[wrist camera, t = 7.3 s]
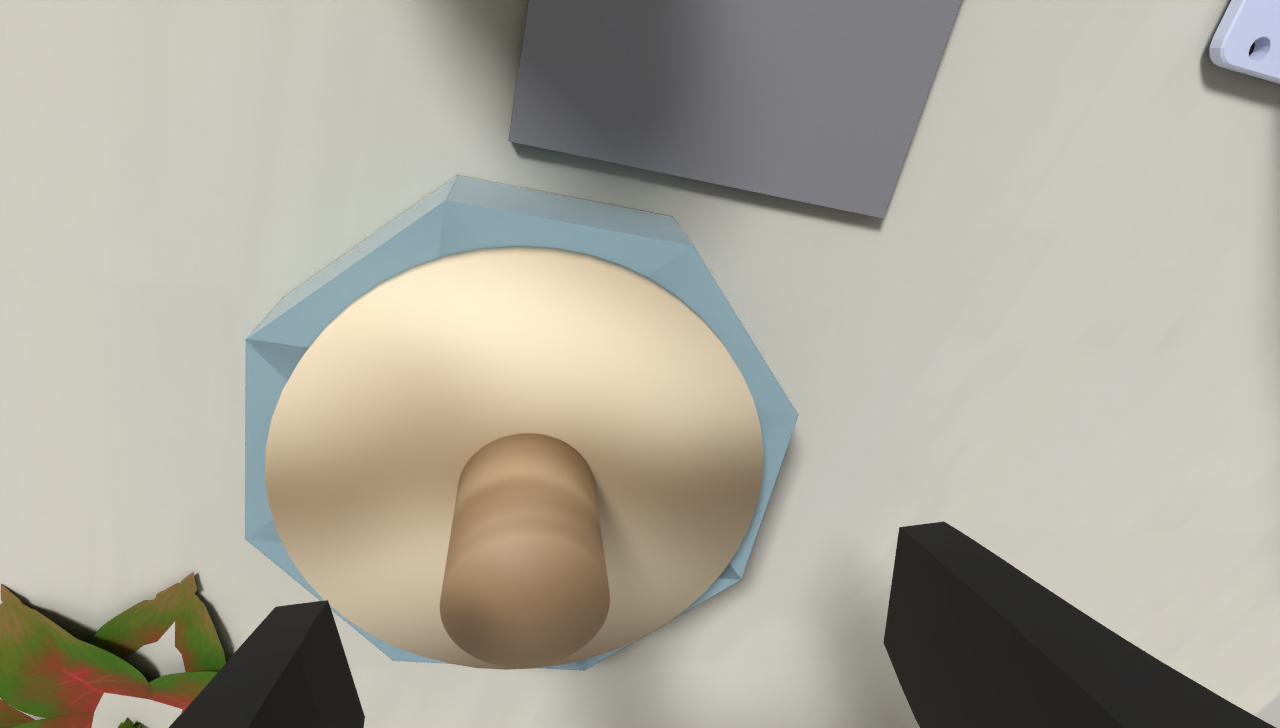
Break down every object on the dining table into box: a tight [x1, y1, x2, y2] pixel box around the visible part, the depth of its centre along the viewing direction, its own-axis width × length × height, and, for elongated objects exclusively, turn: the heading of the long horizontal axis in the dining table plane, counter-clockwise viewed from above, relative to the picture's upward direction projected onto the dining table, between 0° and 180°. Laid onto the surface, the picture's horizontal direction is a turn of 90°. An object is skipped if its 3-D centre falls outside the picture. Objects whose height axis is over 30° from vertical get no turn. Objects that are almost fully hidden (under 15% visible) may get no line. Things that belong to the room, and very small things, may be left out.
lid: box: [265, 246, 764, 669], centre depth 15 cm, size 11×11×4 cm
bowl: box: [245, 175, 799, 670], centre depth 18 cm, size 12×12×2 cm
